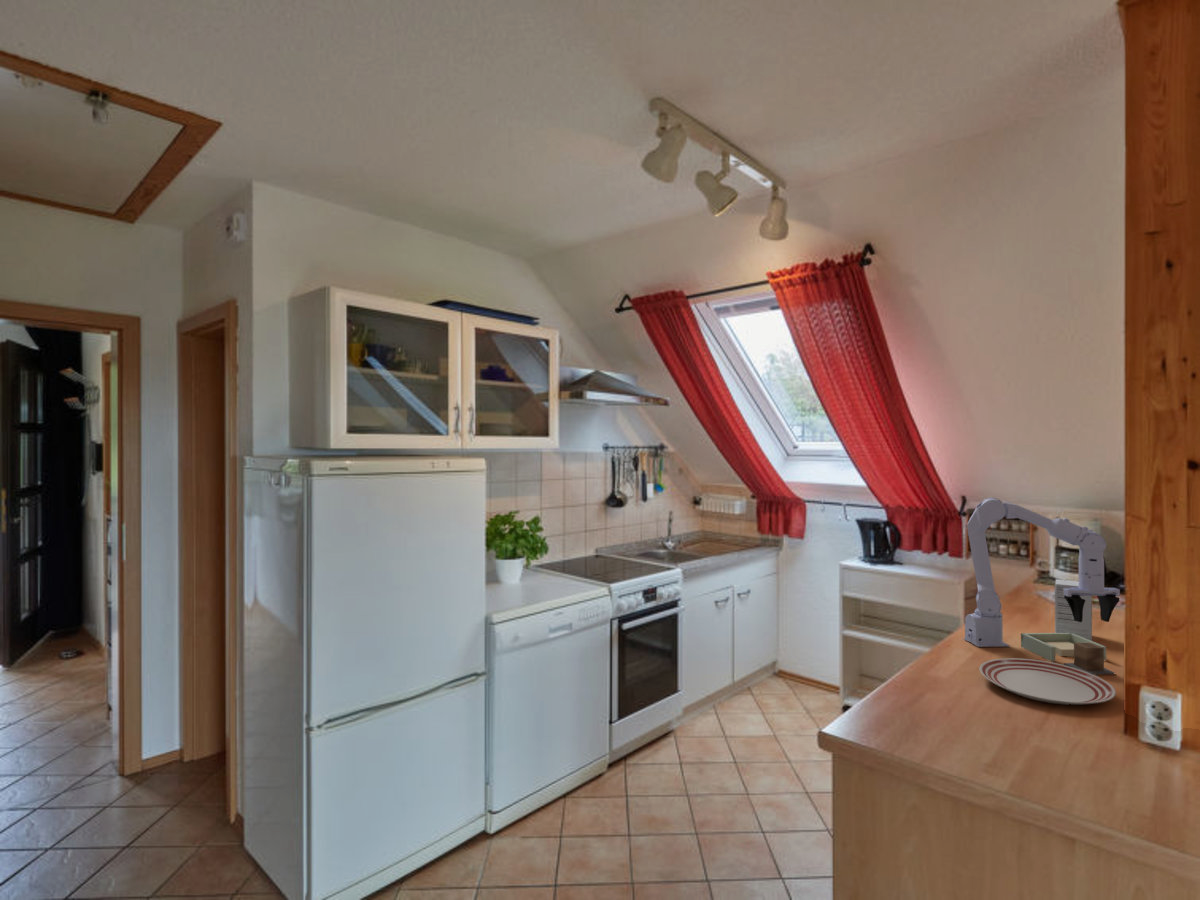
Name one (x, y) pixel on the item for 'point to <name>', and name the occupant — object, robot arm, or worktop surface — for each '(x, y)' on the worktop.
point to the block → (1089, 656)
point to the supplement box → (1064, 613)
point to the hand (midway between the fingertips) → (1091, 621)
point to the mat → (1090, 671)
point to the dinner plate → (1047, 681)
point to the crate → (1053, 644)
